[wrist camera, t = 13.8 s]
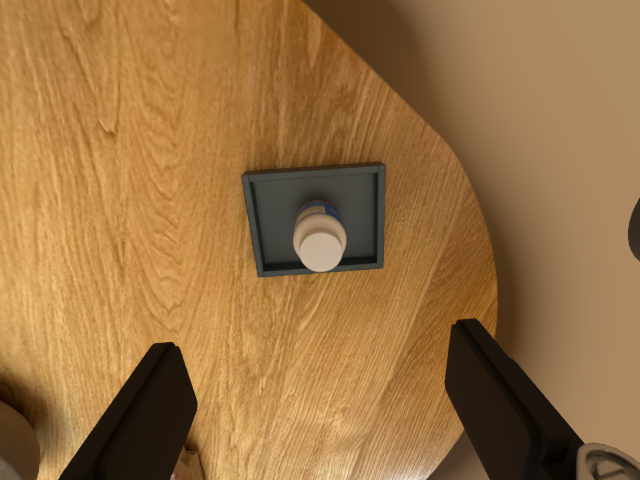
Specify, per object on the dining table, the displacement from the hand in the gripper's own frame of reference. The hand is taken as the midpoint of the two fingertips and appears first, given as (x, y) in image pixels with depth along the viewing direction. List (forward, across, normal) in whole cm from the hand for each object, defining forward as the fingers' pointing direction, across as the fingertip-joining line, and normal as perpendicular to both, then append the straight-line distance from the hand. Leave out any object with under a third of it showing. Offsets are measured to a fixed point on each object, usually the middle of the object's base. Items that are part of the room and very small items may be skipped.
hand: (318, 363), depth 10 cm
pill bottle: (+26, 0, +4) cm, 27 cm away
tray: (+27, 0, +4) cm, 27 cm away
